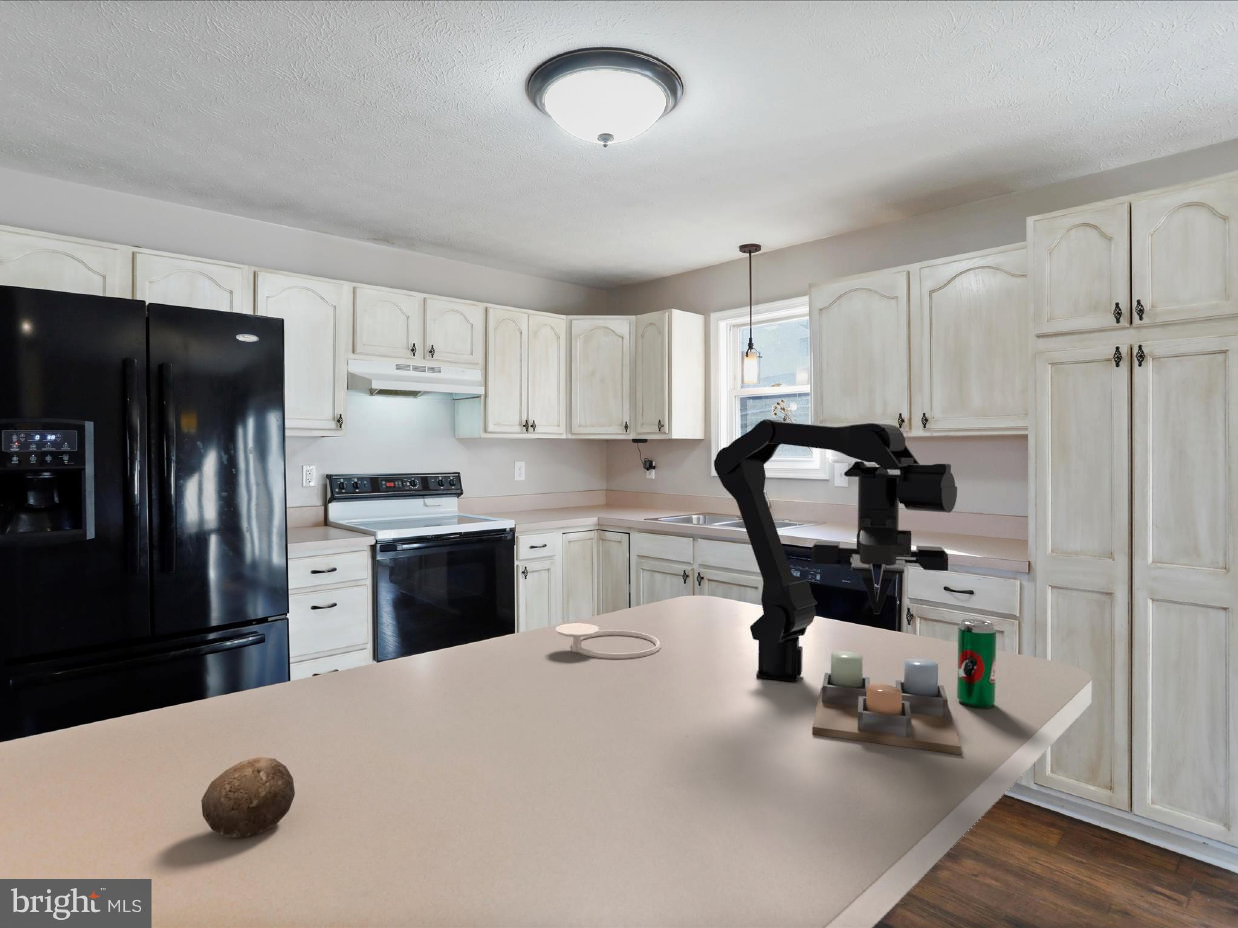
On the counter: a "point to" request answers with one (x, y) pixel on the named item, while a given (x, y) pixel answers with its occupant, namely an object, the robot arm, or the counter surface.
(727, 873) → the counter surface
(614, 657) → the hand towel holder
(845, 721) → the walnut button board
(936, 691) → the slate-blue button
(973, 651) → the soda can
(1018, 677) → the counter surface
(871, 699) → the terracotta button
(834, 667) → the sage button
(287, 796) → the brown speckled pebble
